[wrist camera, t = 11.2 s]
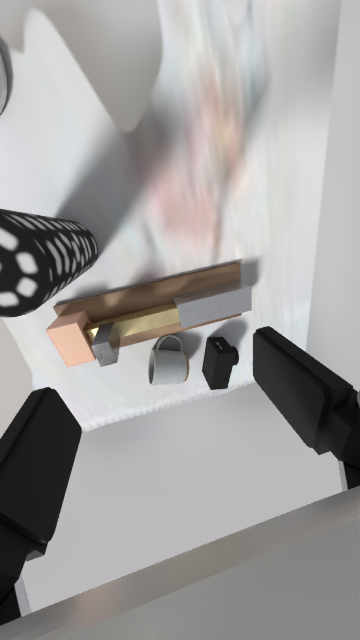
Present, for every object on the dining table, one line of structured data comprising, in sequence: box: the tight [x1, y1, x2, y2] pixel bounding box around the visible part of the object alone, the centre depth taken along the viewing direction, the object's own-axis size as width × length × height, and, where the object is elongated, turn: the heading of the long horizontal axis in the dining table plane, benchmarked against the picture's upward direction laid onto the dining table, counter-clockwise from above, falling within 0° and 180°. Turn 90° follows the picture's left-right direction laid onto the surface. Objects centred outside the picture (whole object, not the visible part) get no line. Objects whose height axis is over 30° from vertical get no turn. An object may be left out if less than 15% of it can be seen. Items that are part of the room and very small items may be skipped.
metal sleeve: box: [172, 280, 251, 328], centre depth 38 cm, size 5×15×5 cm, turn 101°
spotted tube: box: [0, 209, 98, 317], centre depth 23 cm, size 8×8×20 cm
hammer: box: [83, 303, 180, 367], centre depth 33 cm, size 4×22×10 cm, turn 101°
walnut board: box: [53, 263, 241, 348], centre depth 39 cm, size 12×37×1 cm, turn 101°
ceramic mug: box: [148, 335, 189, 386], centre depth 42 cm, size 11×8×8 cm
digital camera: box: [202, 337, 239, 390], centre depth 45 cm, size 10×5×7 cm, turn 176°
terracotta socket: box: [45, 310, 96, 367], centre depth 35 cm, size 8×5×6 cm, turn 11°
